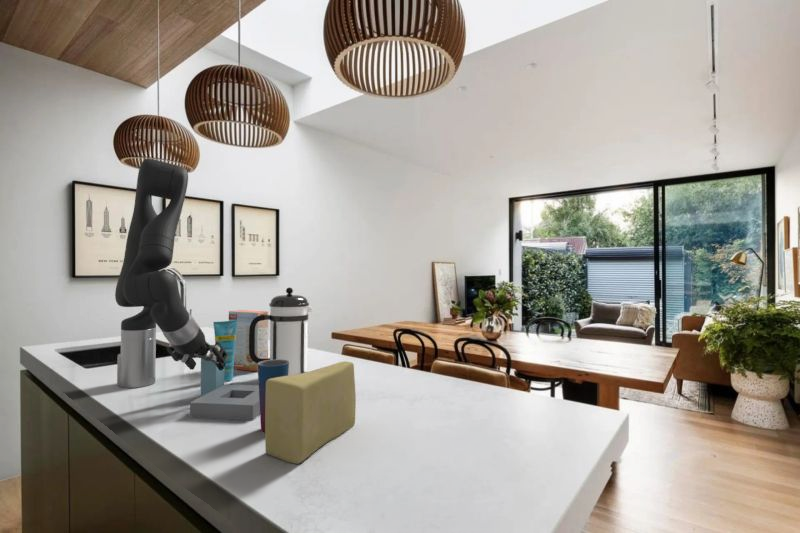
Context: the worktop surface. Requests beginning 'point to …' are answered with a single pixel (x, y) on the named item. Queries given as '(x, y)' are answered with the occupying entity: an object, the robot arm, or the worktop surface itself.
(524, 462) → the worktop surface
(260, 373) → the cup
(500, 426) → the worktop surface
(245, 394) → the socket
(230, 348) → the tube
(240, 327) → the cracker box
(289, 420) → the cheese
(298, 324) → the coffee press
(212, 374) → the white-topped blue pillar
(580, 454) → the worktop surface
